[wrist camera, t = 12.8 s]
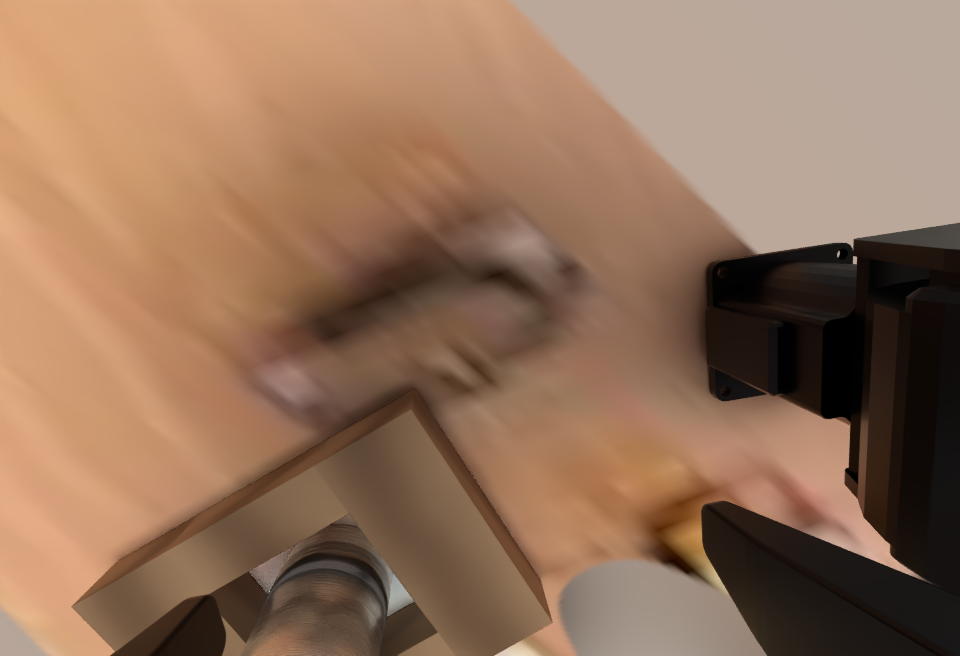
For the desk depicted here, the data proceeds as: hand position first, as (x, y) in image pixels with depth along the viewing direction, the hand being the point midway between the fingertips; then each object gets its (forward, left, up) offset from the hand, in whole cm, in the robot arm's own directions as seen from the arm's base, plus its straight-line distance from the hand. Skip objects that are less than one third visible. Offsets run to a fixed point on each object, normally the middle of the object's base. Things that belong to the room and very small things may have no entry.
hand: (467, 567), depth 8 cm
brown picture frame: (+7, +9, -12) cm, 17 cm away
